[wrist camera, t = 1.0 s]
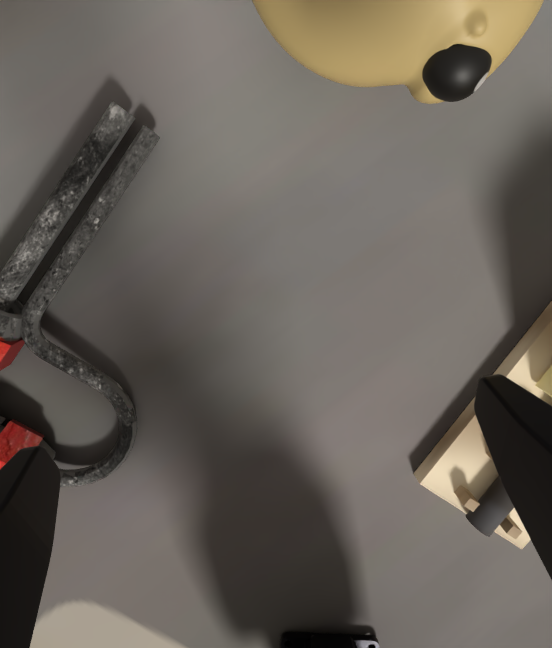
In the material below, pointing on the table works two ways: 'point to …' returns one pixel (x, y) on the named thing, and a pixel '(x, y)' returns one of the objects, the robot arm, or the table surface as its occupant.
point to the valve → (24, 321)
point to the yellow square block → (546, 382)
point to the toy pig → (401, 40)
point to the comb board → (472, 451)
